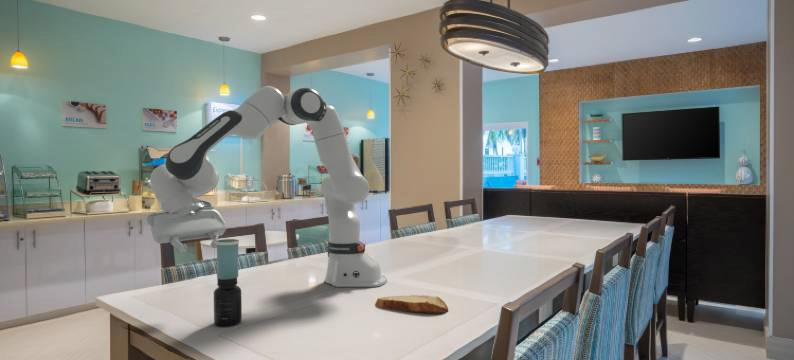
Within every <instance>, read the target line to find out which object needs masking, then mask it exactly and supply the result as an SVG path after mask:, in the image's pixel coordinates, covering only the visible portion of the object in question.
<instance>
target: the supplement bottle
mask: <svg viewBox="0 0 794 360" xmlns="http://www.w3.org/2000/svg"><path fill="white" fill-rule="evenodd" d="M216 279H217V278H216ZM216 282H217V284H216V286H217V287H216V288H215V289H214V291H213V323H214V325H215V326H216V327H219V328H229V327H233V326H234V327H235V326H236V325H239V324H240V323H241V322H242V320H243V317H242V315H243V313H242V311H243V310H242V307H243V306H242V289H241V287H240V286H239V285H238V283H239V282H238V277H237V278H234V279H217V281H216Z"/></svg>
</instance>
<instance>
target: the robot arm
mask: <svg viewBox="0 0 794 360" xmlns="http://www.w3.org/2000/svg"><path fill="white" fill-rule="evenodd" d="M277 120H278V121H280V122H281V123H283V124H285V125H288V126H296V125H301V124H307V126H308V127H309V128H310V130H311V132H312V136H313V139H314V145H315V147H316V150H317V154H318V157H319V160H320V161H319V162H320V163H321V164H322V165H323V167H324V168H325V170H326V172H327V173H328V175H327V176H326V177H325V178H324V179H323V180H322V182H321V185H320V187H321V188H320V189H321V190H320V191H321V194H322V195H323V198H324V202H325V206H326V212H327V217H328V242H327V249H326V250H327V258H328V259H327V260H328V262H327V268H326V274H325V278H324V282H325V283H326V284H330V285H332V287H336V288H337V287H338V288H339V287H341V288H343V287H345V288H348V287H349V288H350V287H351V288H353V287H354V288H355V287H356V288H357V287H360V288H361V287H363V288H365V287H367V288H369V287H370V288H373V287H374V288H375V287H380V286H383V285H384V284H386V283H387V282H388V276H386V275H384V274H383V275H382V271H381V266H380V263H379V262H378V261H377V260H376V259H374V258H373V257H372V256H370V255H369V254H368V253H367V252H366V243H364V242H362V241H361V240H360V239H361V238H360V237H361V235H360V233H361V231H360V230H361V229H360V228H361V227H360V224H361V223H360V222H361V221H360V217H359V216H358V214H357V211H356V206H355V204H359V203H361V202H364V201H365V200H366V199H367V198H368V196H369V194H370V191H371V190H370V184H369V181H368V180H367V179H366V177H364V176H363V174H362V172H361V171H360V169H359V167H358V165H357V163H356V161H355V159H354V158H353V155H352V153H351V150H350V147H349V143H348V140H347V136H346V135H347V134H346V133H345V128H344V126H343V123H342V121H341V118H340V116H339V113H338V111H337V110H336V108H335V107H334V106H333V105H329V104H326V102H325V101H324V100H323V98H322V96H321V94H320V93H319V92H317V91H316V90H315V89H313V88H310V87H301V88H298V89H296V90H292V91H289V92H288V93H287V94H284V93H283V92H281V91H280V90H279V89H277V88H276V87H274V86H271V85H266V86H265V85H264V86H263V87H261V88H259V89H257V90H256V91H255V92H254V93H252V94H251V95H250V96H249V97H247V99H245V100H244V101H243V102H242V103H241V104H240V105H239V106H238V107H236V108H235V109H234V110H231V109H230V110H227V111H224V112H223V113H221V114H219V115H218V116H216V117H214V119H212V121H210V122H209V123H208V124H206V125H205V126H204V127H202V128H201V129H199V130H198V131H197V132H196V133H194V135H192V136H190V137H189V138H187V139H186V140H185V141H183V142H180V143H178V144H177V145H175V146H174V147H172V148H171V149H170V150H169V151H168V154H167V155H166V158H165V161H164V164H160V165H159V166H157V167H156V168H154V169H153V171H151V174H150V179H149V181H150V186H151V189H152V191H153V194H154V196H155V199H156V200H157V202H158V203H160V208H161V211H162V212H153V213H150V214H149V215H147V216H146V221H147V224H148V225H149V226H150V231H151V234H152V238H153V240H154V241H155V242H156V243H158V244H168V243H170V245H171V246H173V247H175V248H176V249H177V250H178V251H179V253H180V254H184V253H185V254H186V253H187V251H189V247H188V246H187V244H186V243H182V241H191V240H198V239H204V238H205V239H206V238H209V239H211V243H210V246H211V248H212V249H217V241H218V240H219V237H220V236H221V237H222V236H223V235H224V233H225V232H226V231H227V227H228V226H227V222H226V221H225V219H224V218H223V216H222V215H221V213H220V212H219V211H218V210H217V209H215V204H214V203H213V202H212V201H207V200H203V199H198V197H201V196H203V195H206V194H208V193H210V192H211V191H213V190H214V189H215V188H216V187H217V185H218V183H219V178H220V177H219V173H218V171H217V170H216V169H215V167H214V166H213V164H212V163H211V162H210V161H209V160H208V159H207V154H208V152H210V151H211V150H212V149H213V148H215V146H217V145H218V144H219V143H221V142H222V141H223V140H224V139H226V138H227V137H230V136H237V137H239V138H241V139H244V140H256V139H258V138H260V137H261V136H263V135H264V134H265V133H266V132H267V130H269V129H270V127H271V126H272V125H273V124H274V123H275V122H276V121H277Z"/></svg>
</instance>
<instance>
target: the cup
mask: <svg viewBox="0 0 794 360" xmlns="http://www.w3.org/2000/svg"><path fill="white" fill-rule="evenodd" d="M239 243H240V240H239V239H238V238H237V239H236V238H226V239H218V241H217V248H216V279H234V278H237V279H238V278H239Z"/></svg>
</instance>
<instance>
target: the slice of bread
mask: <svg viewBox="0 0 794 360" xmlns="http://www.w3.org/2000/svg"><path fill="white" fill-rule="evenodd" d="M374 306H375V307H377V308H381V309H386V310H393V311H400V312H409V313H416V314H419V313H420V314H433V313H439V314H444V312H447V313H448V312H449V308H448V305H447V304H446V302H445V301H444V300H443V299H441V297H439V296H434V295H433V296H432V295H431V296H430V295H422V294H421V295H418V294H416V295H415V294H414V295H413V294H412V295H392V296H383V297H378V298H377V300H376V302H375V304H374Z"/></svg>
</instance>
